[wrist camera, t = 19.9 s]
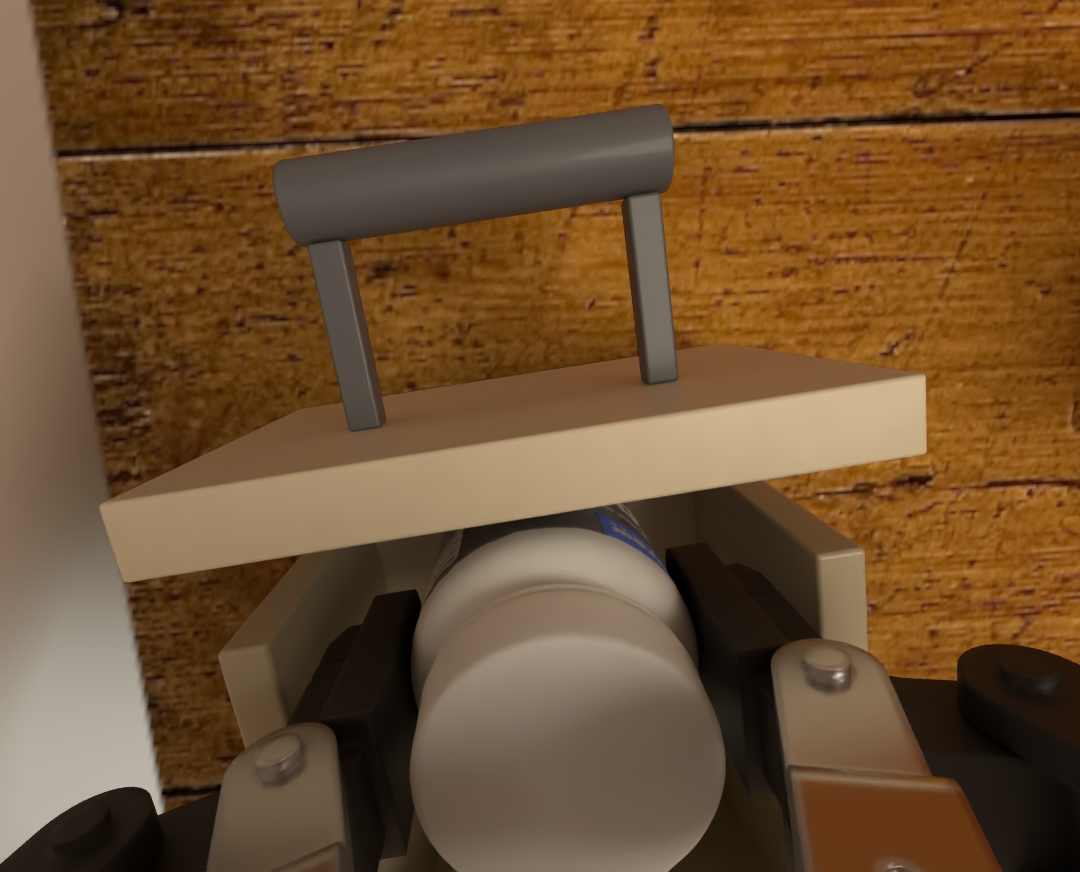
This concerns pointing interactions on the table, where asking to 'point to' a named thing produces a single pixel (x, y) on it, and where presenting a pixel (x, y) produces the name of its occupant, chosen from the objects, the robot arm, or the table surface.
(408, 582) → the storage drawer
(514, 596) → the pill bottle
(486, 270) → the table surface
